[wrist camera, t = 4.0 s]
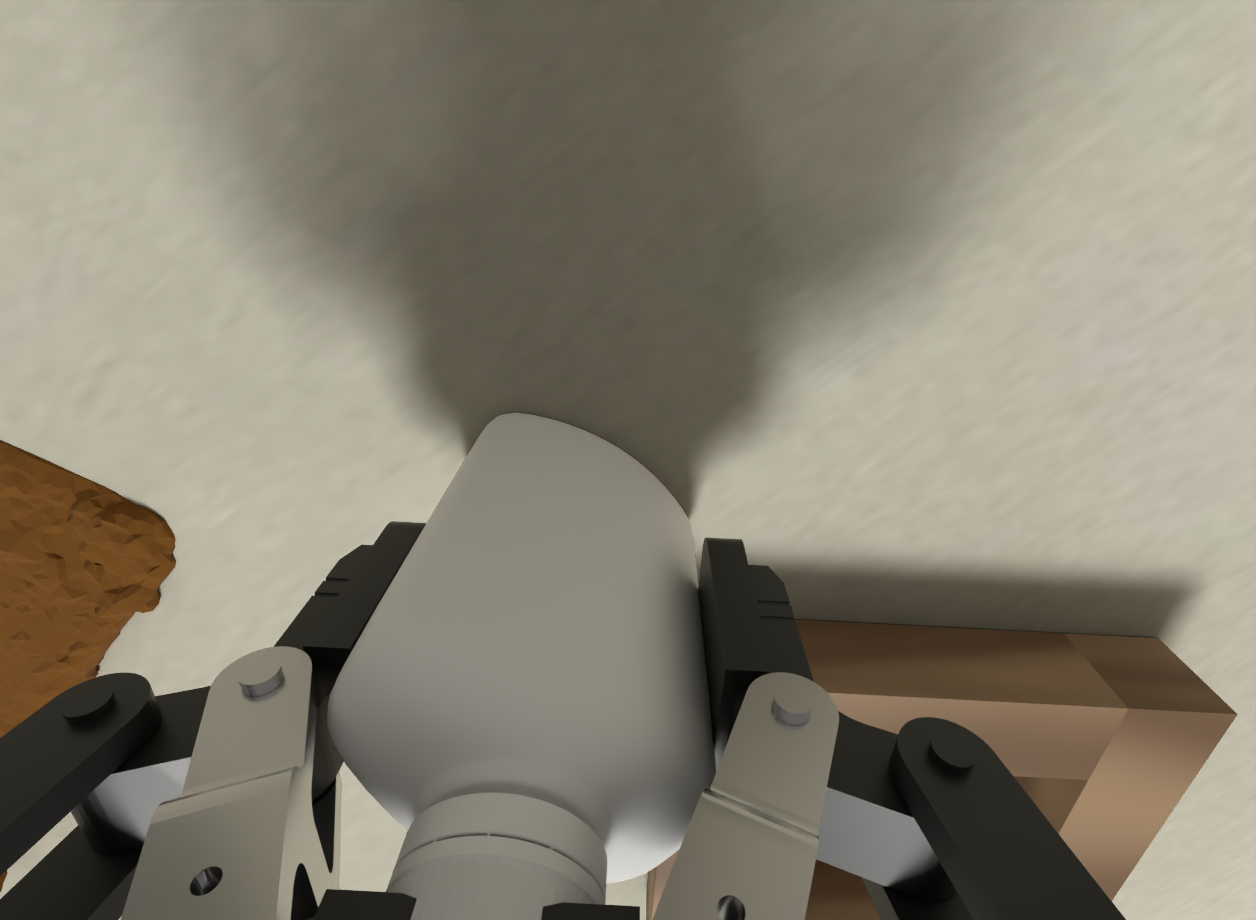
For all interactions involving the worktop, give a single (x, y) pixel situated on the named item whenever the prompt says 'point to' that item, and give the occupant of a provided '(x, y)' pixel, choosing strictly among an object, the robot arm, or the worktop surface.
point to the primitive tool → (67, 578)
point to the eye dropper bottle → (534, 680)
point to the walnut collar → (1026, 729)
